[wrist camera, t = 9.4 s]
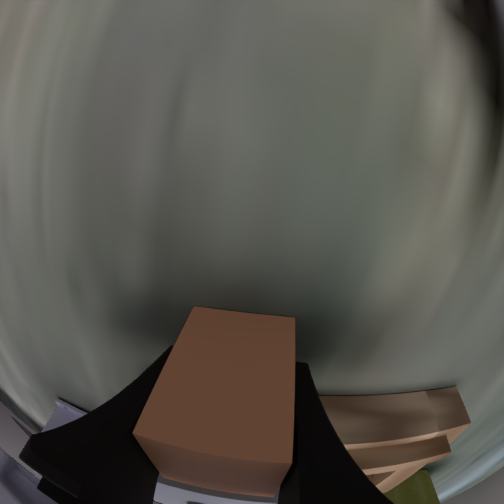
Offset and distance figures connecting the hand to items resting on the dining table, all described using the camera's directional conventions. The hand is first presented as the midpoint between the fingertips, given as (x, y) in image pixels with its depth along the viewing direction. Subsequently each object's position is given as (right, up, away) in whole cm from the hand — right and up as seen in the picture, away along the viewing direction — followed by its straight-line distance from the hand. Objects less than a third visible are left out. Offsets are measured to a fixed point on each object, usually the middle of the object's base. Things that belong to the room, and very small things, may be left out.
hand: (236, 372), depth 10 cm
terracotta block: (0, +1, +1) cm, 1 cm away
